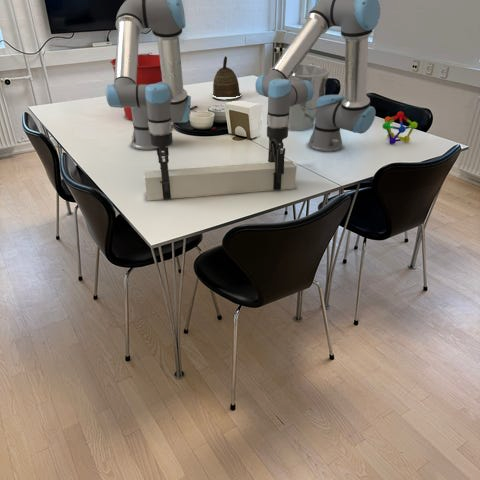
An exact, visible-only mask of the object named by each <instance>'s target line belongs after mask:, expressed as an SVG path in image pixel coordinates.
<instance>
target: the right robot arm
mask: <svg viewBox="0 0 480 480" xmlns="http://www.w3.org/2000/svg"><path fill="white" fill-rule="evenodd" d="M380 18H381V5H380V1H379V0H319V1H318V2H317V3H316V4H315V5H314V6H313V7H312V8H311V9H310V11H309V12H308V13H307V15H306V17H305V22H304V23H303V25H302V26H301V28H300V29H299V31H298V32H297V33H296V35H295V36H294V38H293V39H292V40H291V41H290V43H289V45H287V47H286V49H285V50H284V51H283V53H282V54H281V55H280V57H279V58H278V60H277V61H276V62H275V64H274V65H273V66H272V67H273V68H272V67H271V68H272V70H271V71H270V70H269V72H268V74H266V73H265V74H261V75H259V76H258V77H257V78H256V81H255V91H256V93H257V94H258V95H261V96H263V97H265V98H267V115H266V126H267V127H266V137H267V138H268V156H267V163H270V162H275V173H273V175H274V185H273V190H272V191H280V190H281V177H282V174H284V161H285V154H286V148H285V147H284V142H283V141H284V139H287V138H288V137H289V130H288V127H287V126H288V122H289V119H290V116H289V109H290V106H294V105H298V104H301V103H302V104H303V103H305V102H307V101H309V100H311V99H312V97H313V95H314V88H313V85H312V84H311V83H310V82H309V81H307V80H304V81H303V80H301V81H292V80H289V79H290V77H291V76H292V75H293V73H294V72H295V70H296V69H297V68H298V66H299V65H300V64H302V62H303V60H304V59H305V58H306V56H307V55H308V53H309V52H310V51H311V50H312V48H313V47H314V45H315V44H316V42H317V41H318V40H319V38H320V37H321V35H324V34H326V33H327V32H328V31H329V29H330V28H332V27H338V28H339V27H340V35H341V37H343V39H344V95H343V94H325V96H324V95H322V96H321V97H319V98H318V100H317V105H316V115H315V120H314V127H313V128H314V129H313V132H312V133H311V136H310V138H309V140H308V147H309V148H310V149H312V150H314V151H316V152H317V151H318V152H323V153H324V152H325V153H333V152H338V151H340V150H341V149H342V148H343V139H342V136H341V130H345V131H349V132H352V133H354V134H365V133H366V132H367V131H369V130H370V128H371V127H372V125H373V123H374V121H375V118H376V113H377V112H376V109H375V107H374V106H371V98H370V97H369V96H367V90H368V60H369V36H370V35H371V34H373V32H374V31H373V30H374V29H375V28H377V26H378V24H379V19H380ZM281 191H282V190H281Z"/></svg>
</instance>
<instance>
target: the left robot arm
mask: <svg viewBox="0 0 480 480" xmlns="http://www.w3.org/2000/svg"><path fill="white" fill-rule="evenodd" d="M185 15H186V14H185V9H184V4H183V1H182V0H124V2H123V3H122V5H121V6H120V7H119V9H118V11H117V14H116V17H115V28H116V30H117V40H116V52H115V59H116V63H115V73H114V77H113V83H112V84H108V85H106V88H105V97H106V102H107V105H108V106H109V107H110V108H118V109H124V108H126V107H131V110H132V118H133V121H132V125H133V132H132V135H131V142H130V143H131V147H132V148H134V149H135V150H141V151H151V150H153V151H154V150H156V155H157V158H158V163H159V164H160V165H159V170H161V175H162V181H160V183H162V190H163V199H162V200H171V193H170V180H169V172H168V170H169V161H170V159H169V155H170V152H169V146H172V144H173V142H174V139H173V132H172V131H173V130H172V129H173V125H174V123H175V124H176V123H178V124H181V123H188V122H189V121H190V118H191V117H190V115H191V111H192V110H193V109H195V108H198V105H197V106H196V105H194V106H191V101H192V96H191V95H188V92H187V90H186V89H185V88H184V81H183V69H182V68H183V67H182V59H181V57H182V56H181V46H180V36H181V35H182V33H183V30H184V29H185V28H186V16H185ZM143 29H151V30H152V32H151V33H152V35H153V36H155V37H156V41H157V49H158V55H159V57H160V66H161V74H162V82H158V83H156V84H150V85H136V80H137V63H138V54H139V46H140V42H139V41H140V35H141V34H142V33H143Z"/></svg>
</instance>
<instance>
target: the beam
mask: <svg viewBox="0 0 480 480" xmlns="http://www.w3.org/2000/svg"><path fill="white" fill-rule="evenodd" d="M168 172H169V180H170V193H171V199H184V198H194V197H195V198H196V197H197V198H198V197H210V196H221V195H233V194H245V193H256V192H268V191H269V192H270V191H274V190H273V185H274V175H273V173H275V162H270V163H269V162H258V163H244V164H243V163H242V164H228V165H216V166H202V167H187V168H174V169H173V168H172V169H168ZM296 177H297V166H296V164H295V162H293V160H287V161H286V160H284V174H282V177H281V191H283V190H293V189H296ZM160 181H162V175H161V169H159V170H146V171H145V170H144V182H145V192H146V200H147V202H149V201H159V200H160V201H161V200H164V199H163V190H162V183H160ZM171 199H170V200H171Z"/></svg>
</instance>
